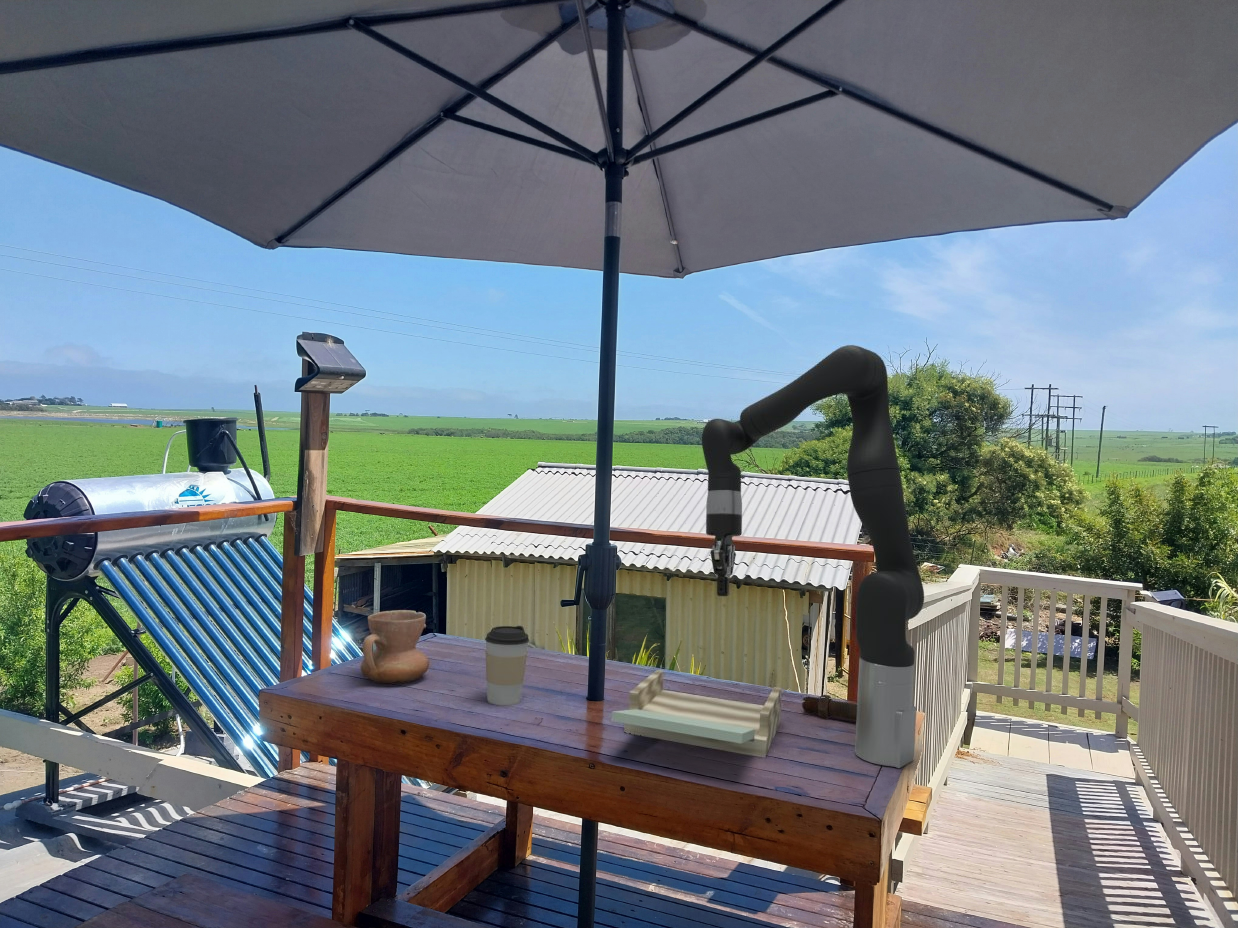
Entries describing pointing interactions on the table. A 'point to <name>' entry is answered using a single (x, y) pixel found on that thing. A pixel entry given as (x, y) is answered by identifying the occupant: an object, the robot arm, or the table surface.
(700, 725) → the panel
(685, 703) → the cart bed
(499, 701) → the coffee cup
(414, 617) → the ceramic jug
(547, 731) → the table surface
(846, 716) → the bolt
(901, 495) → the robot arm
